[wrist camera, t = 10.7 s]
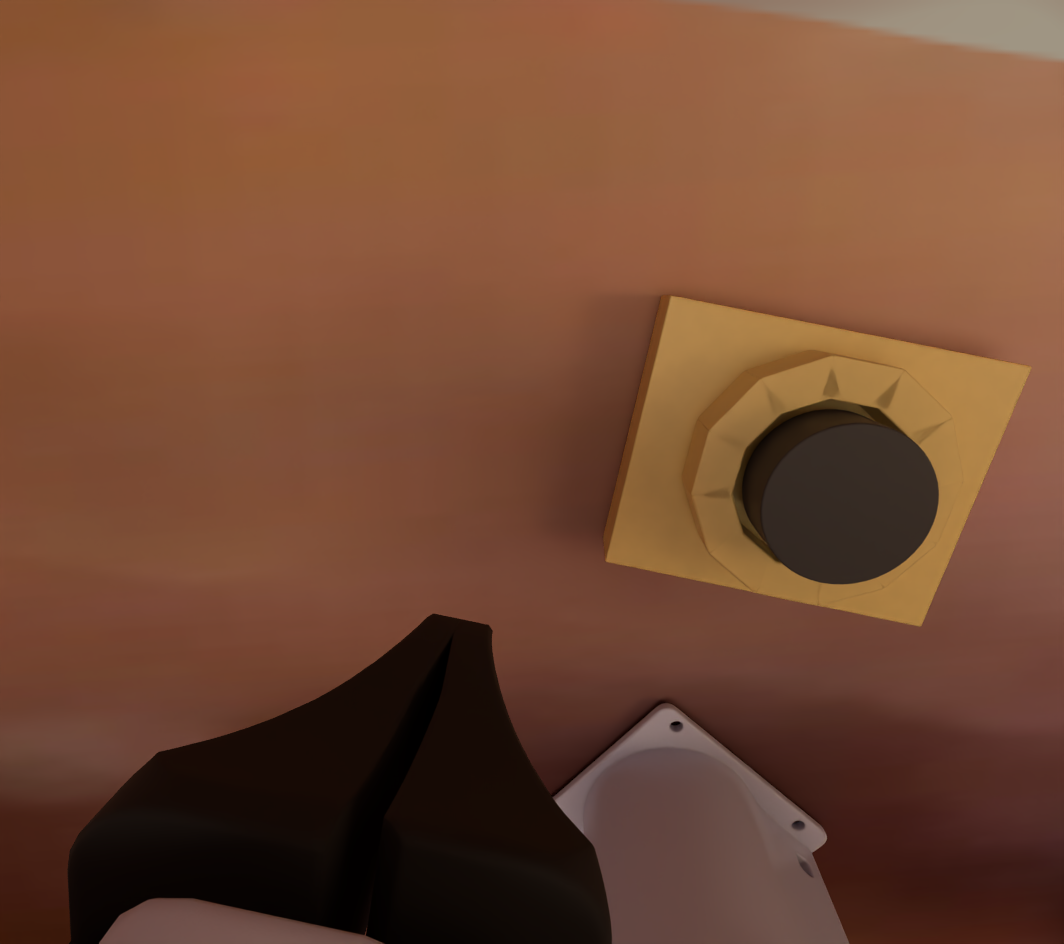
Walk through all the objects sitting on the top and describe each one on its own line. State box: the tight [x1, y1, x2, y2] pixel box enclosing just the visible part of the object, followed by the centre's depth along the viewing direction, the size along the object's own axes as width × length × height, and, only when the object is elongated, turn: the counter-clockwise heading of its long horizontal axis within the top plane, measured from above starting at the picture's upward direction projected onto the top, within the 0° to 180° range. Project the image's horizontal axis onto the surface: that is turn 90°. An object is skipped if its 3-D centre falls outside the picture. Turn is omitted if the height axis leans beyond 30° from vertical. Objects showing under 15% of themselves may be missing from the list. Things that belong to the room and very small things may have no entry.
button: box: [742, 409, 939, 585], centre depth 17 cm, size 5×5×2 cm
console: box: [603, 295, 1031, 626], centre depth 20 cm, size 11×9×4 cm
